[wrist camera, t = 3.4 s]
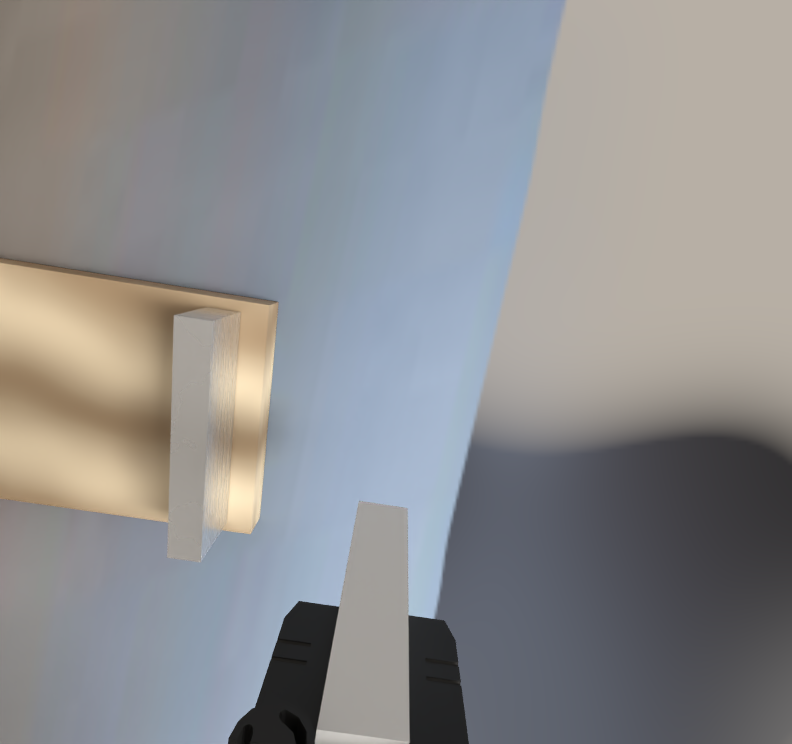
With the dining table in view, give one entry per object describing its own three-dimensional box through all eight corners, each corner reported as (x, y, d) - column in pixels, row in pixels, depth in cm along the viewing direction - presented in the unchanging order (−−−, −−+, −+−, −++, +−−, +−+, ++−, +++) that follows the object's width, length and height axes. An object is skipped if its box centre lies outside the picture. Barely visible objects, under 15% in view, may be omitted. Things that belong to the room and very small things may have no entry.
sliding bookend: (226, 522, 22) (200, 562, 19) (197, 518, 22) (167, 557, 19) (240, 312, 20) (212, 321, 17) (207, 306, 20) (173, 315, 17)
